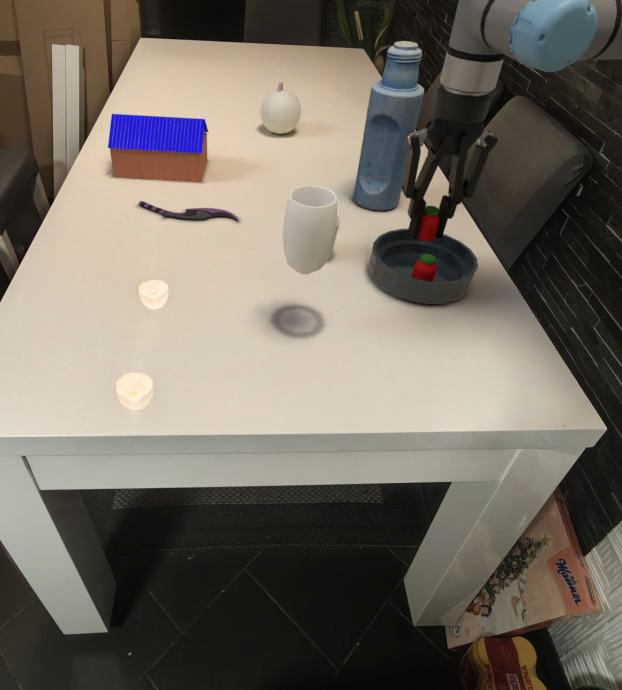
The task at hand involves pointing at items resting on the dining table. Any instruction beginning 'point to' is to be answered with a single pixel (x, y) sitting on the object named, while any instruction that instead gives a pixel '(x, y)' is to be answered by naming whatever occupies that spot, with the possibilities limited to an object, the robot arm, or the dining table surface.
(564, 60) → the robot arm
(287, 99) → the ornament
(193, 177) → the house
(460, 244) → the bowl
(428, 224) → the strawberry
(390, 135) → the bottle
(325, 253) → the cup
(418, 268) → the strawberry
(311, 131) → the dining table surface
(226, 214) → the knife
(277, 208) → the dining table surface
